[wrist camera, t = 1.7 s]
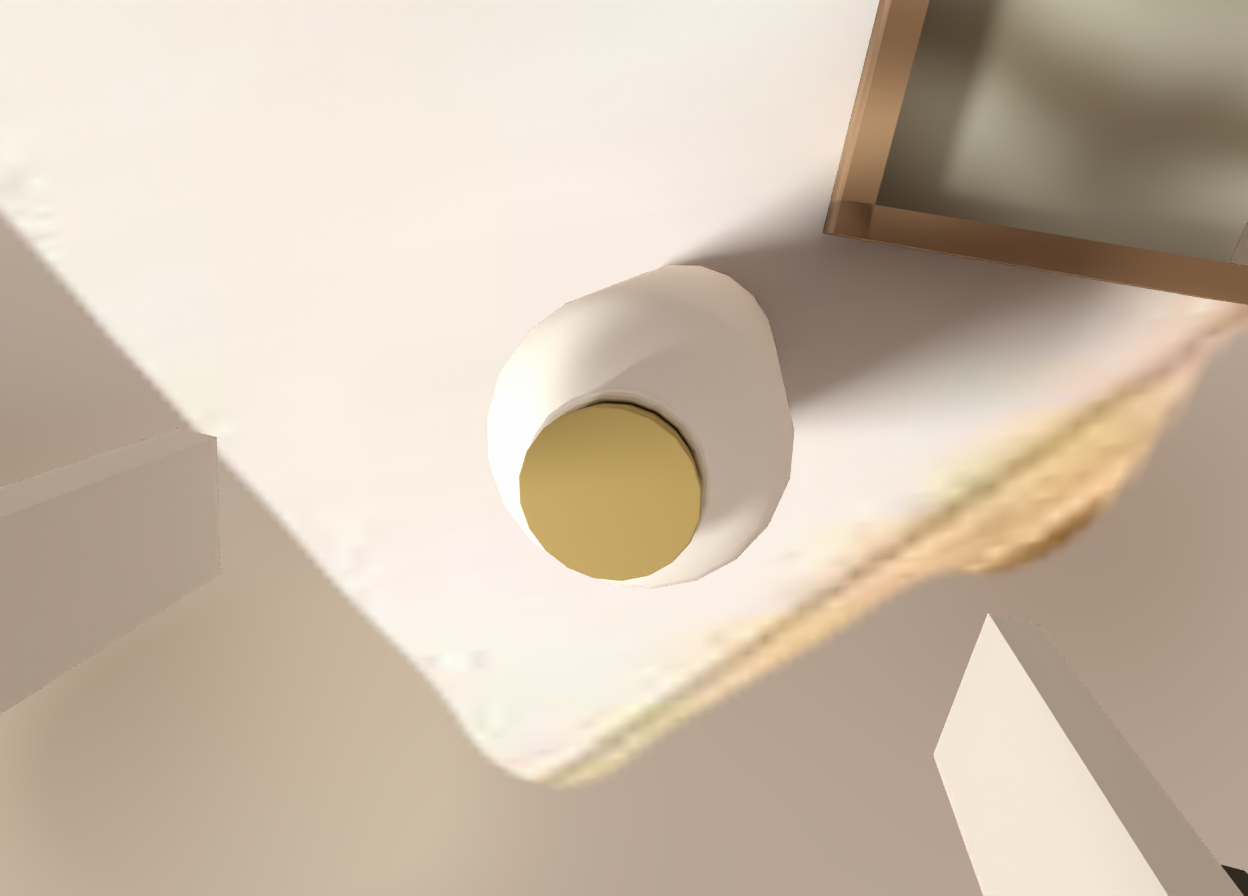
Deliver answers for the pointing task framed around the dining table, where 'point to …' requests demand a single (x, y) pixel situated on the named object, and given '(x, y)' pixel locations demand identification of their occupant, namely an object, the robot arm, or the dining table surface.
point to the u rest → (1056, 138)
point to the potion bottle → (645, 428)
